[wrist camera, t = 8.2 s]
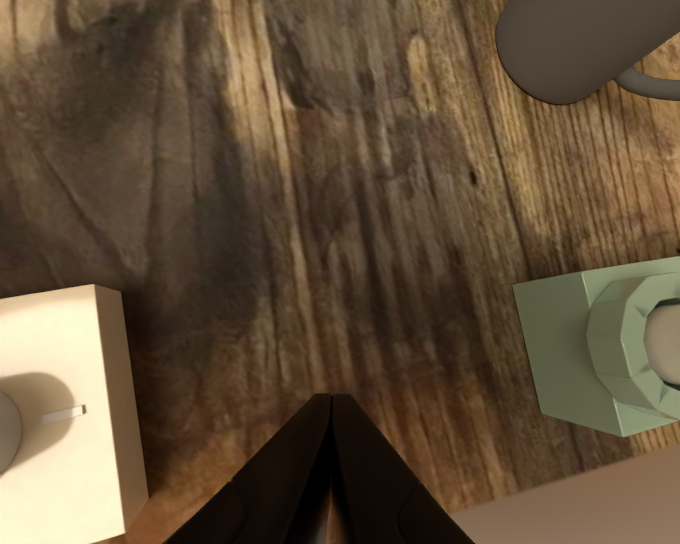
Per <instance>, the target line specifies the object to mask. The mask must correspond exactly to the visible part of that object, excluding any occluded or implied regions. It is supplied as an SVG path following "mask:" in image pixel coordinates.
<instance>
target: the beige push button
mask: <svg viewBox="0 0 680 544" xmlns="http://www.w3.org/2000/svg"><path fill="white" fill-rule="evenodd" d="M643 342H644V345H645V349H646V353H647V356H648V360H649V364H650V366H651V367H652V369H653V370H654V371H655V372H656V374H657V375H658V376H659V377H660V378H662V379H663V380H665V381H667V382H669V383H671V384H676V385H680V304H674V305H663V306H659V307H657V308H655V309H654V310H652V311H651V312H650V313H649V314H648V316H647V320H646V326H645V332H644V339H643Z"/></svg>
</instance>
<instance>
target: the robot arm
mask: <svg viewBox="0 0 680 544" xmlns="http://www.w3.org/2000/svg"><path fill="white" fill-rule="evenodd" d="M330 498H331V502H332V516H333V527H334V538H335V544H475V543H474V542H473V541H472V540H471V539H470V538H469V537H468V536H467V535H466V534H465V532H464V531H463V530H462V529H461V528H460V527H459V526H458V525H457V524H456V523H455V522H454V521H453V520H452V519H451V518H450V517H449V515H448V514H447V513H446V512H445V511H444V509H443V508H442V507H441V506H440V505H439V504H438V502H437V501H436V500H435V499H434V498H433V497H432V495H431V494H430V493H429V492H428V490H427V489H426V488H425V486H424V485H423V484H422V483H420V480H419V479H418V478H417V477H416V475H415V474H414V473H413V472H412V470H411V469H410V468H409V467H408V465H407V464H406V463H405V462H404V460H403V459H402V458H401V457H400V455H399V454H398V453H397V452H396V450H395V449H394V448H393V447H392V445H391V444H390V443H389V442H388V440H387V439H386V438H385V437H384V435H383V434H382V433H381V432H380V430H379V429H378V428H377V427H376V425H375V424H374V423H373V422H372V420H371V419H370V418H369V417H368V415H367V414H366V413H365V412H364V410H363V409H362V408H361V407H360V405H359V404H358V403H357V402H356V400H355V399H354V398H353V397H352V395H351V394H334V395H333V397H332V395H331V394H328V393H317V394H314V395H313V396H312V397H311V398H310V399H309V400H308V401H307V402H306V403H305V404H304V405H303V406H302V407H301V408H300V409H299V410H298V411H297V412H296V413H295V414H294V415H293V416H292V417H291V419H290V420H289V421H288V422H287V423H286V424H285V425H284V426H283V427H282V428H281V429H280V430H279V431H278V432H277V433H276V434H275V435H274V436H273V437H272V438H271V439H270V440H269V441H268V442H267V443H266V444H265V445H264V446H263V447H262V448H261V449H260V450H259V451H258V452H257V453H256V454H255V455H254V456H253V457H252V458H251V459H250V460H249V461H248V462H247V463H246V464H245V465H244V466H243V467H242V468H241V469H240V471H239V472H238V473H237V474H236V475H235V476H234V477H233V478H232V479H231V482H228V483H227V484H226V485H225V486H224V487H223V488H222V489H221V490H220V491H219V492H218V493H217V494H216V495H215V496H214V497H213V498H212V499H211V500H210V501H209V502H207V503H206V504H205V505H204V506H203V507H202V508H201V509H200V510H199V511H198V512H197V513H196V514H195V515H194V516H193V517H192V518H191V519H189V520H188V521H187V522H186V523H185V524H184V525H183V526H182V527H180V528H179V529H178V530H177V531H176V532H175V533H174V534H172V535H171V536H170V537H169V538H168V539H167V540H166V541H164V542H163V543H162V544H324V541H325V534H326V527H327V521H328V514H329V507H330Z"/></svg>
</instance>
